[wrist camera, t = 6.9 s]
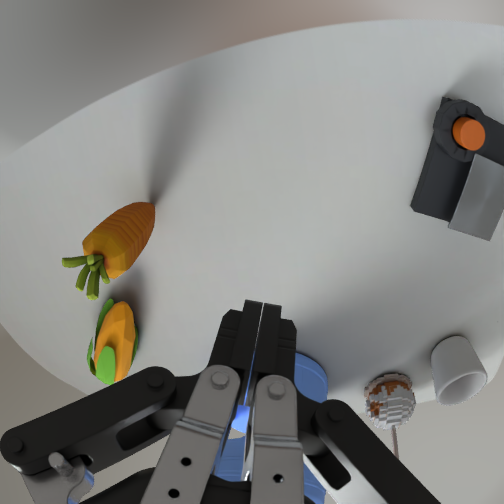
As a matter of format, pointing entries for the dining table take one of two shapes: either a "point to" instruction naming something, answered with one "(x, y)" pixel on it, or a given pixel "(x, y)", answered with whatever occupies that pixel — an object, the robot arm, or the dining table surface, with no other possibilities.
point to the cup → (456, 371)
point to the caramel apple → (390, 403)
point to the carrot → (113, 246)
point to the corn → (113, 343)
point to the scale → (453, 159)
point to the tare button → (468, 133)
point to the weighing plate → (480, 199)
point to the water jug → (307, 382)
